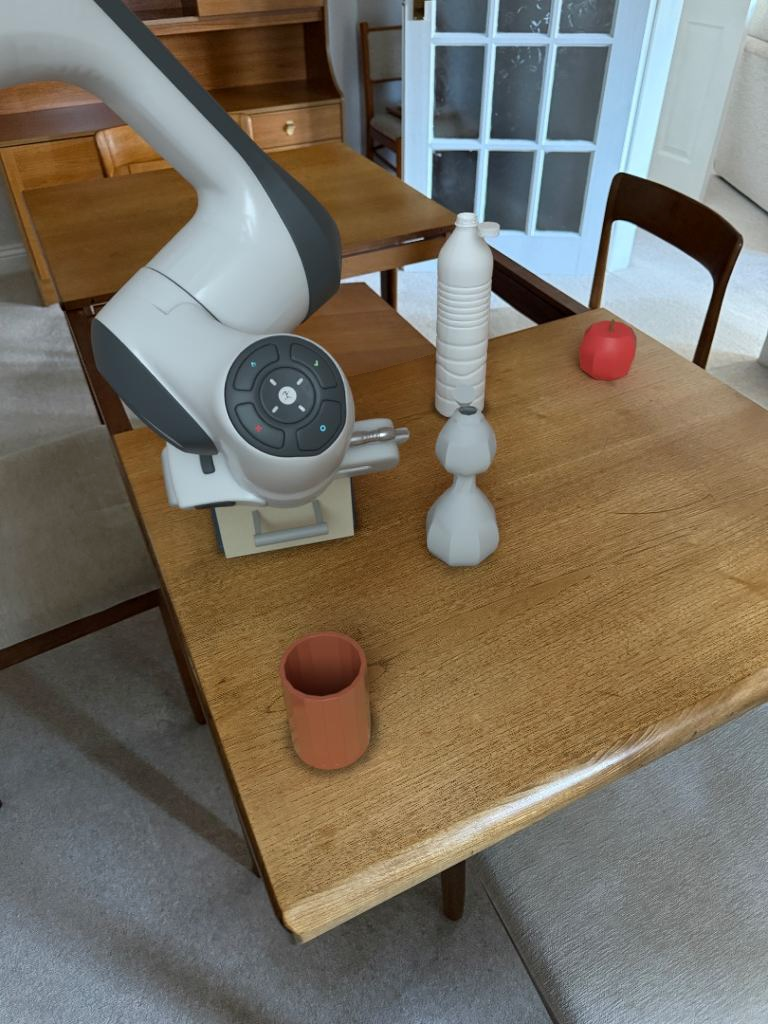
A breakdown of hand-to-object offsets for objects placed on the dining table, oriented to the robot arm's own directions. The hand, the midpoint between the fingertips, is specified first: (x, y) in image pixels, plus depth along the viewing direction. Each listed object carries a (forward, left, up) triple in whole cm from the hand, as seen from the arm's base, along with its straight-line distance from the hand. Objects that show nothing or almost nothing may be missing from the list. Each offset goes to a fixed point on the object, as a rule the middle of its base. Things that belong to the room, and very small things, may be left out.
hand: (282, 477), depth 71 cm
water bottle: (+26, +22, -10) cm, 35 cm away
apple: (+48, +26, -10) cm, 55 cm away
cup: (0, -22, -10) cm, 24 cm away
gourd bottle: (+17, -4, -10) cm, 20 cm away
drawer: (0, +6, -9) cm, 11 cm away
